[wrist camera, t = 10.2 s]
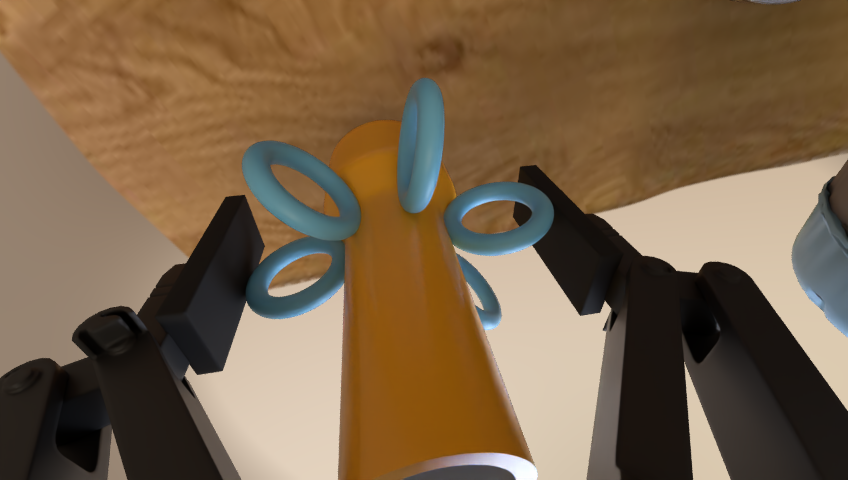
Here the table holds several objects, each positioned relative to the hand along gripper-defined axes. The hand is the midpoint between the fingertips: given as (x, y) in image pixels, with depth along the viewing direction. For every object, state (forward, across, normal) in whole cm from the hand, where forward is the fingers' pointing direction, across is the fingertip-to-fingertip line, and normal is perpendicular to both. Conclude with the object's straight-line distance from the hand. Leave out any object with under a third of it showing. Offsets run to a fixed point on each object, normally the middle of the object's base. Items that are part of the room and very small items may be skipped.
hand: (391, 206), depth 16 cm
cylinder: (+4, 0, 0) cm, 4 cm away
